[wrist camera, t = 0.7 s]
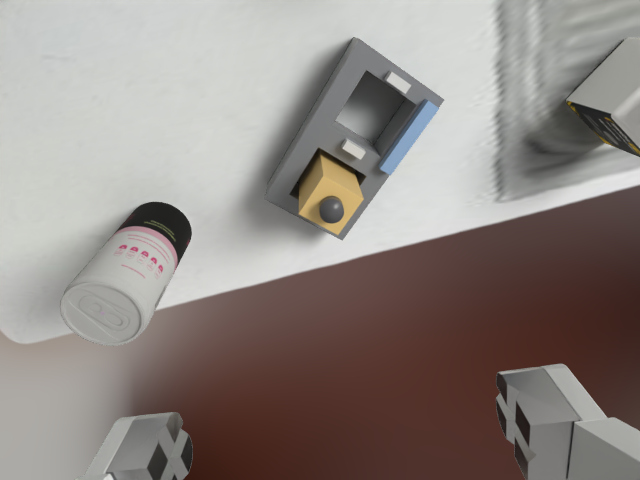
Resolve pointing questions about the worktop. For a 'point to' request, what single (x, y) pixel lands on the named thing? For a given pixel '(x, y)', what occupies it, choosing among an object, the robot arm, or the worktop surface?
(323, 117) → the grey compartment tray
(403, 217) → the worktop surface
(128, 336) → the beverage can
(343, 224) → the drawer with knob
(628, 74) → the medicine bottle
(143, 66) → the worktop surface
